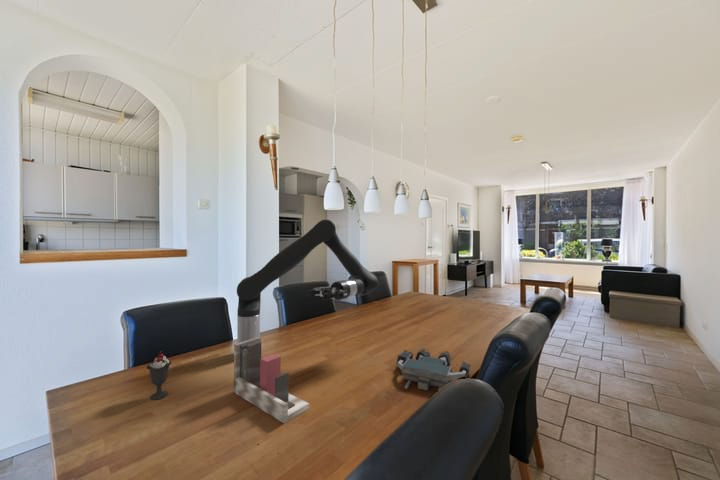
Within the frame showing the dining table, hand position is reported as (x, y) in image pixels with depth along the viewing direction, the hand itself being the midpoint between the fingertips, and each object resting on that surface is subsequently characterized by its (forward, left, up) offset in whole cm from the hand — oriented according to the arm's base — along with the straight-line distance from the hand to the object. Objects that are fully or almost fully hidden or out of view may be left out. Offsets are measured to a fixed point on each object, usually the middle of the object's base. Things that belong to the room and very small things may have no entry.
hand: (315, 295), depth 110 cm
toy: (+28, +34, -31) cm, 54 cm away
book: (+4, -20, -29) cm, 35 cm away
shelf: (+4, -19, -30) cm, 36 cm away
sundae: (-21, -45, -30) cm, 58 cm away
